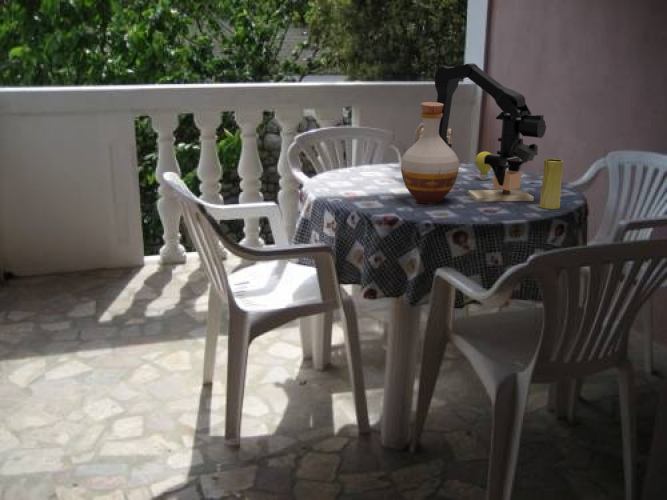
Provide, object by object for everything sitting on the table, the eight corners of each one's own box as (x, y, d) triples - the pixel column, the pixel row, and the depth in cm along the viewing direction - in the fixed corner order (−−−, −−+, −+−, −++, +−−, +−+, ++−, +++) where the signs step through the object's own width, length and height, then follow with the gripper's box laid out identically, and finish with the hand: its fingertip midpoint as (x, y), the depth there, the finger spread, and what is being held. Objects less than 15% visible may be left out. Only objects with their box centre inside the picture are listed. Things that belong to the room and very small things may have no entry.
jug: (388, 195, 229) (390, 100, 221) (437, 191, 236) (441, 99, 227) (415, 209, 212) (419, 106, 203) (468, 204, 218) (474, 104, 209)
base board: (476, 201, 222) (477, 188, 220) (467, 193, 232) (468, 181, 231) (533, 200, 223) (534, 188, 222) (521, 193, 233) (522, 181, 232)
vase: (536, 204, 218) (540, 158, 214) (557, 204, 218) (561, 158, 214) (541, 209, 212) (546, 161, 208) (562, 209, 212) (567, 161, 208)
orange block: (509, 190, 223) (510, 174, 221) (492, 187, 227) (493, 172, 225) (520, 187, 227) (521, 172, 225) (503, 184, 231) (505, 169, 230)
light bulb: (497, 179, 255) (499, 152, 252) (483, 181, 251) (485, 153, 248) (483, 176, 260) (485, 149, 257) (470, 178, 256) (471, 151, 253)
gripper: (516, 140, 210) (511, 192, 215) (549, 134, 222) (545, 183, 227) (484, 136, 218) (481, 186, 223) (518, 131, 230) (514, 178, 235)
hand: (506, 184), depth 226 cm, fingers closed on orange block, 6 cm apart
